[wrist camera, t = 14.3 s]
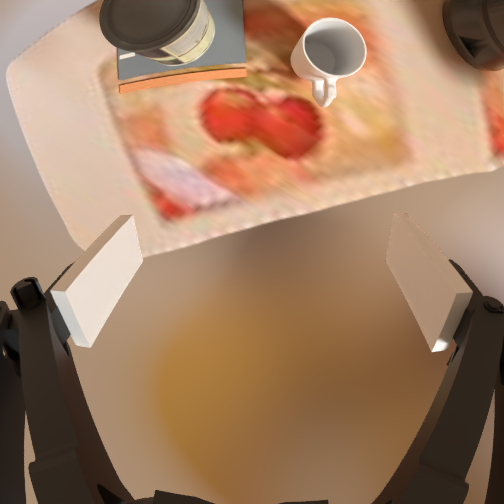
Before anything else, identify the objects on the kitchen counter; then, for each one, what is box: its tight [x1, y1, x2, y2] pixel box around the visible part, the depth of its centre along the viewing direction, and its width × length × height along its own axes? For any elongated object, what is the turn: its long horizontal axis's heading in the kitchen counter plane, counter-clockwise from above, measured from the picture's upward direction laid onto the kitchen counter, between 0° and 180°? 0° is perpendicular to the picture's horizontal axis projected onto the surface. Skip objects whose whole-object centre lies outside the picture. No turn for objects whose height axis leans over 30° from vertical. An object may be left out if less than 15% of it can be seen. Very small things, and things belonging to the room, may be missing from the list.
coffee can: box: [100, 0, 215, 66], centre depth 27 cm, size 10×10×14 cm
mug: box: [290, 18, 366, 107], centre depth 31 cm, size 10×7×12 cm, turn 179°
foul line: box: [120, 68, 246, 94], centre depth 36 cm, size 18×1×1 cm, turn 93°
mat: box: [118, 0, 246, 80], centre depth 33 cm, size 18×11×1 cm, turn 93°
